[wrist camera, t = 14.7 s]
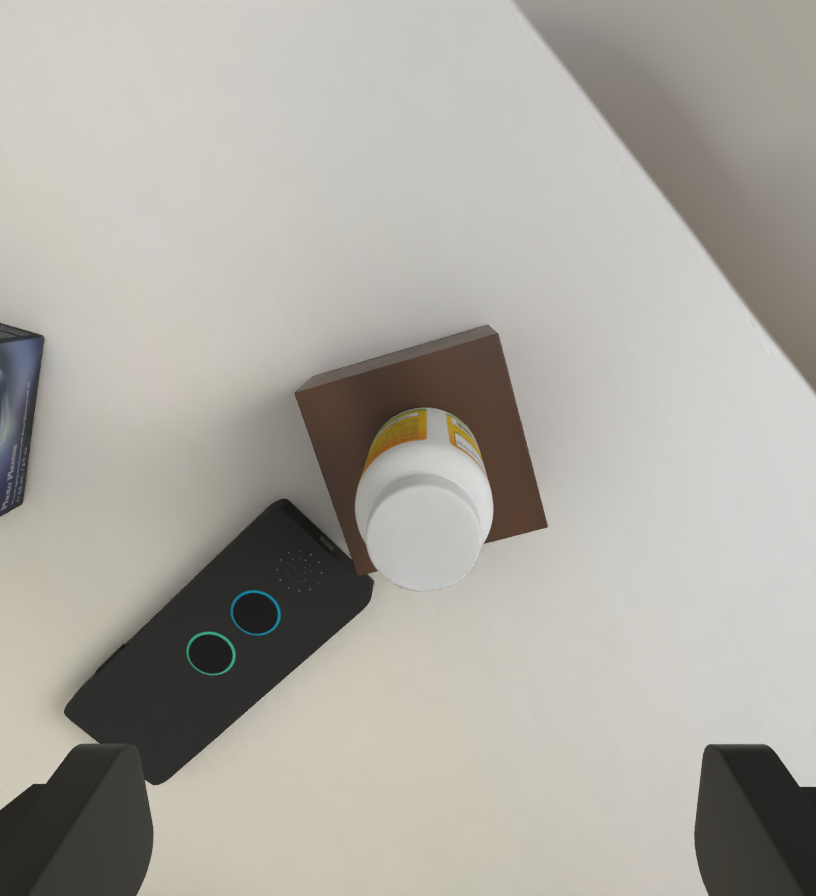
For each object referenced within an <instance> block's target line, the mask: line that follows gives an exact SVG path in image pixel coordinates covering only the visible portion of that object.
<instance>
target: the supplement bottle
mask: <svg viewBox="0 0 816 896" xmlns="http://www.w3.org/2000/svg"><path fill="white" fill-rule="evenodd" d="M355 516H356V521H357V525H358V529H359V532H360V534H361V536H362V538H363V540H364V542H365V543H366V547H367V551H368V554H369V557H370V559H371V561H372V563H373V565H374V566H375V568H376V569H377V570H378V571H379V573H380V574H381V575H382V576H384V577H385V578H386V579H387V580H388V581H390V582H391V583H393V584H395V585H397V586H399V587H401V588H404V589H407V590H412V591H419V592H429V591H436V590H440V589H444V588H446V587H449V586H451V585H453V584H454V583H456V582H458V581H459V580H461V579H462V578H463V577H464V576H465V575H466V574H467V573H468V572H469V571H470V570H471V568H472V567H473V565H474V563H475V561H476V559H477V557H478V555H479V551H480V548H481V546H482V545H483V543H484V542H485V540H486V538H487V536H488V534H489V531H490V528H491V524H492V520H493V499H492V492H491V488H490V484H489V481H488V478H487V474H486V470H485V467H484V463H483V460H482V457H481V453H480V450H479V447H478V444H477V442H476V440H475V437H474V436H473V434H472V432H471V431H470V430H469V428H468V427H467V426H466V425H465V424H464V423H463V422H462V421H461V420H460V419H458V418H457V417H455V416H454V415H452V414H450V413H448V412H446V411H443V410H439V409H435V408H415V409H410V410H407V411H404V412H402V413H399V414H397V415H396V416H394V417H392V418H391V419H390V420H388V421H387V422H386V423H385V424H384V425H383V426H382V427H381V429H380V430H379V431H378V433H377V435H376V436H375V438H374V440H373V442H372V445H371V448H370V450H369V454H368V457H367V460H366V463H365V466H364V469H363V472H362V475H361V477H360V481H359V484H358V488H357V493H356V499H355Z"/></svg>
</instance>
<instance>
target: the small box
mask: <svg viewBox="0 0 816 896" xmlns="http://www.w3.org/2000/svg"><path fill="white" fill-rule="evenodd" d="M43 342H44V337H43V336H42V335H39V334H36V333H32V332H29V331H25V330H22V329H19V328H15V327H11V326H8V325H4V324H1V323H0V517H1V516H2V515H4V514H6V513H8V512H9V511H11V510H13V509H14V508H16V507H18V506H20V505H22V503H23V497H24V489H25V481H26V473H27V465H28V457H29V449H30V441H31V434H32V426H33V418H34V411H35V402H36V395H37V387H38V380H39V372H40V365H41V357H42V349H43Z"/></svg>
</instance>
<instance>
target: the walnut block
mask: <svg viewBox="0 0 816 896" xmlns="http://www.w3.org/2000/svg"><path fill="white" fill-rule="evenodd" d="M295 396H296V399H297V402H298V405H299V407H300V410H301V413H302V416H303V419H304V422H305V425H306V428H307V431H308V433H309V436H310V439H311V442H312V445H313V448H314V451H315V454H316V457H317V459H318V462H319V465H320V468H321V471H322V474H323V477H324V480H325V483H326V485H327V488H328V491H329V494H330V497H331V500H332V503H333V506H334V509H335V511H336V514H337V517H338V520H339V523H340V526H341V529H342V532H343V534H344V537H345V540H346V543H347V546H348V549H349V552H350V555H351V558H352V560H353V563H354V566H355V569H356V572H357V575H358V576H361V575H365V574H369V573H372V572H376V571H378V570H377V569H376V568H375V566H374V565H373V563H372V561H371V559H370V557H369V554H368V551H367V547H366V543H365V542H364V540H363V538H362V536H361V534H360V532H359V529H358V525H357V521H356V516H355V499H356V493H357V488H358V484H359V481H360V477H361V475H362V472H363V469H364V466H365V463H366V460H367V457H368V454H369V450H370V448H371V445H372V442H373V440H374V438H375V436H376V435H377V433H378V431H379V430H380V429H381V427H382V426H383V425H384V424H385V423H386V422H387V421H388V420H390V419H391V418H392V417H394V416H396V415H397V414H399V413H402V412H404V411H407V410H410V409H415V408H435V409H439V410H443V411H446V412H448V413H450V414H452V415H454V416H455V417H457V418H458V419H460V420H461V421H462V422H463V423H464V424H465V425H466V426H467V427H468V428H469V430H470V431H471V432H472V434H473V436H474V437H475V440H476V442H477V444H478V447H479V450H480V453H481V457H482V460H483V463H484V467H485V470H486V474H487V478H488V481H489V484H490V488H491V492H492V499H493V520H492V524H491V528H490V531H489V534H488V536H487V538H486V540H485V542H484V543H483V544H485V543H489V542H493V541H497V540H500V539H504V538H508V537H512V536H516V535H520V534H524V533H528V532H531V531H535V530H539V529H543V528H547V527H548V525H547V521H546V517H545V513H544V510H543V506H542V502H541V498H540V494H539V490H538V486H537V482H536V478H535V475H534V471H533V467H532V463H531V459H530V455H529V451H528V447H527V443H526V439H525V436H524V432H523V428H522V424H521V420H520V416H519V412H518V408H517V404H516V401H515V397H514V393H513V389H512V385H511V381H510V377H509V373H508V369H507V365H506V362H505V358H504V354H503V350H502V346H501V342H500V338H499V334H498V333H497V332H496V331H495V330H493V329H492V328H491V327H490V326H489V325H485V326H482V327H478V328H475V329H472V330H468V331H465V332H461V333H458V334H455V335H451V336H448V337H444V338H441V339H438V340H434V341H431V342H427V343H424V344H421V345H417V346H414V347H410V348H407V349H404V350H400V351H397V352H394V353H390V354H387V355H383V356H380V357H377V358H373V359H370V360H366V361H363V362H360V363H356V364H353V365H349V366H346V367H343V368H339V369H336V370H332V371H329V372H326V373H322V374H319V375H315V376H313V377H312V378H311V379H310V380H308V381H307V382H306V383H305V384H304V385H303V386H302V387H301V388H300V389H299V390H297V391H296V392H295Z"/></svg>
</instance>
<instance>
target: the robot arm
mask: <svg viewBox="0 0 816 896" xmlns="http://www.w3.org/2000/svg"><path fill="white" fill-rule="evenodd" d="M694 837H695V850H696V856H697V861H698V866H699V870H700V873H701V877H702V880H703V883H704V885H705V888H706V890H707V892H708V895H709V896H816V787H799V785H798V784H797V782H796V781H795V780H794V778H793V777H792V775H791V774H790V772H789V771H788V770H787V768H786V767H785V765H784V764H783V763H782V761H781V760H780V758H779V757H778V755H777V754H776V753H775V752H774V750H773V749H772V748H770V747H769V746H767V745H764V744H710V745H708V746H706V748H705V750H704V753H703V759H702V768H701V777H700V786H699V795H698V804H697V813H696V822H695V833H694ZM152 848H153V824H152V818H151V812H150V807H149V801H148V796H147V790H146V785H145V779H144V774H143V768H142V763H141V757H140V753H139V750H138V748H137V747H136V746H135V745H134V744H79V745H77V746H76V747H74V748H73V749H72V750H71V751H70V752H69V754H68V755H67V756H66V758H65V759H64V760H63V762H62V763H61V764H60V766H59V767H58V768H57V770H56V771H55V772H54V774H53V775H52V776H51V778H50V779H49V780H48V782H47V783H46V784H33V785H32V786H30V787H29V788H28V789H26V790H25V791H24V792H23V793H21V794H20V795H19V796H18V797H16V798H15V799H14V800H13V801H11V802H10V803H9V804H7V805H6V806H5V807H4V808H2V809H1V810H0V896H136V895H137V893H138V891H139V889H140V887H141V885H142V883H143V880H144V878H145V876H146V873H147V870H148V866H149V863H150V859H151V854H152Z"/></svg>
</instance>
